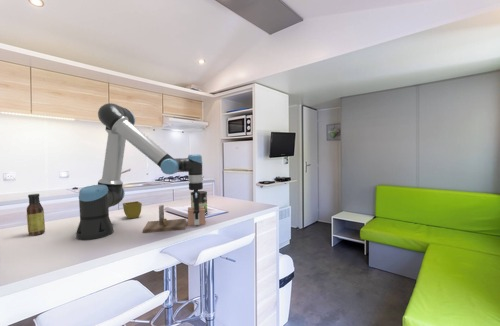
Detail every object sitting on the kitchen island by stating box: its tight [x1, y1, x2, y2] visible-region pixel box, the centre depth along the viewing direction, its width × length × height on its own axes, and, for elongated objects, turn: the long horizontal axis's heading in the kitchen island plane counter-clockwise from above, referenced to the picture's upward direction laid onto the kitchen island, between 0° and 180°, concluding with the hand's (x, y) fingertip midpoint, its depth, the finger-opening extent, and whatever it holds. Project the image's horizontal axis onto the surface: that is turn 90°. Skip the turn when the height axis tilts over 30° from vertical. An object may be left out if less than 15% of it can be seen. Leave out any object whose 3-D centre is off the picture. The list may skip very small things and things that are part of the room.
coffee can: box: [190, 190, 208, 213], centre depth 151 cm, size 10×10×14 cm
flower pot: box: [122, 201, 143, 220], centre depth 145 cm, size 9×9×9 cm
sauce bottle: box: [26, 193, 46, 236], centre depth 116 cm, size 7×6×20 cm
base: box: [142, 204, 187, 234], centre depth 125 cm, size 20×15×12 cm
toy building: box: [187, 206, 206, 227], centre depth 131 cm, size 9×9×8 cm
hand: (196, 222), depth 131 cm, fingers open, 9 cm apart
